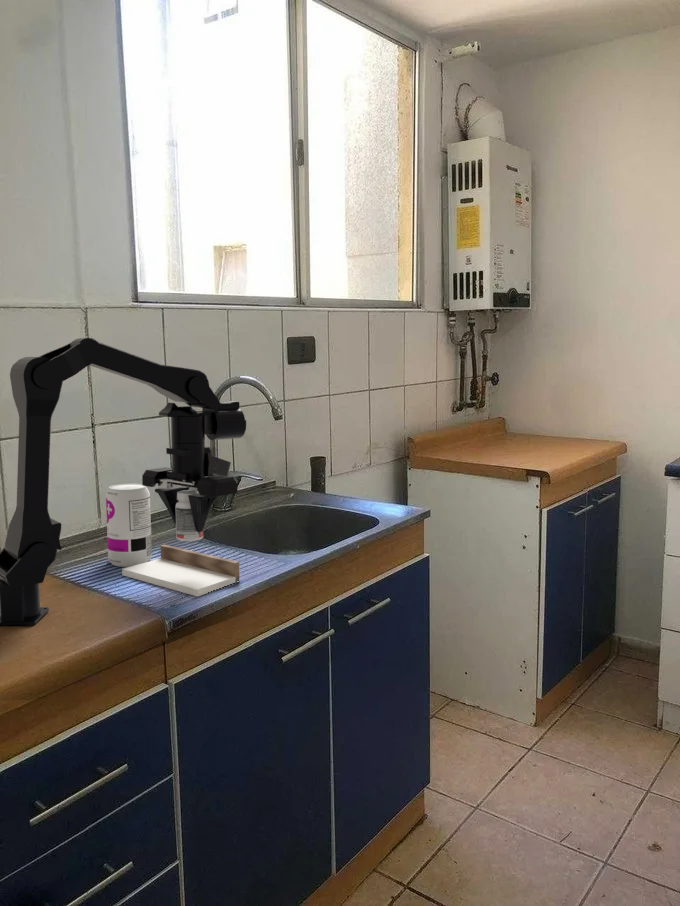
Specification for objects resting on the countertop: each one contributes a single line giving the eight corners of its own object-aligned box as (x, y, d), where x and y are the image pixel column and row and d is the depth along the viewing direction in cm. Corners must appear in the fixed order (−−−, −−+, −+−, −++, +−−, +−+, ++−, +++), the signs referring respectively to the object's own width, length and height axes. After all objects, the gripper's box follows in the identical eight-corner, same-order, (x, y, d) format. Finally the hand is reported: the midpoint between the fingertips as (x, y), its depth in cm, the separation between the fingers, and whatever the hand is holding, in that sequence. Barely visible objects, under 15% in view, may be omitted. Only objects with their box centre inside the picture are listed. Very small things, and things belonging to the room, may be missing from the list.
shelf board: (239, 582, 130) (239, 561, 129) (197, 596, 122) (197, 575, 121) (165, 563, 142) (164, 544, 141) (122, 575, 134) (121, 555, 133)
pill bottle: (205, 540, 127) (205, 493, 126) (178, 542, 126) (177, 495, 125) (200, 534, 132) (199, 488, 131) (174, 536, 130) (173, 490, 129)
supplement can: (107, 569, 137) (104, 491, 135) (109, 557, 145) (106, 483, 143) (152, 566, 139) (149, 489, 137) (151, 555, 147) (149, 482, 145)
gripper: (259, 441, 128) (259, 529, 130) (186, 434, 139) (188, 515, 140) (212, 447, 119) (214, 541, 121) (139, 439, 130) (141, 525, 132)
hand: (189, 529), depth 129 cm, fingers closed on pill bottle, 5 cm apart
